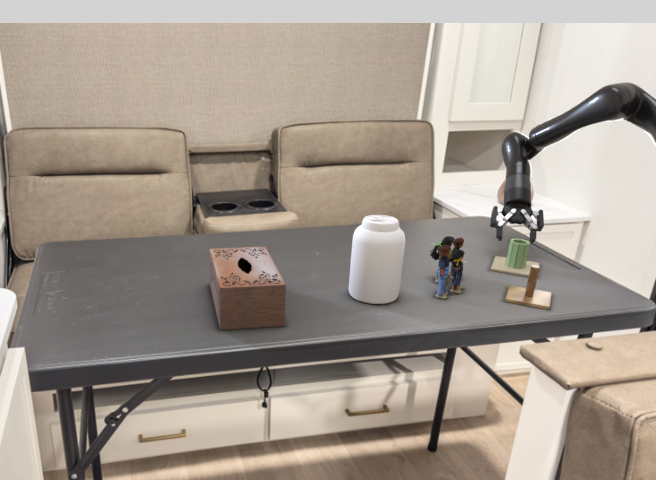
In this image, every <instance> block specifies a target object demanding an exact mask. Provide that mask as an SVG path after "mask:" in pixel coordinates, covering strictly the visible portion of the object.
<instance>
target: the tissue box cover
mask: <svg viewBox="0 0 656 480" xmlns="http://www.w3.org/2000/svg"><path fill="white" fill-rule="evenodd" d="M208 252H209V253H208V255H209V286H210V290H211V295H212V299H213V304H214V309H215V313H216V317H217V322H218V326H219V330H220V331H223V330H224V331H225V330H240V329H241V330H242V329H258V328H272V327H273V328H274V327H276V328H277V327H285V325H286V323H285V321H286V296H287V295H286V294H287V284H286V281H285V280H284V278H283V276H282V274H281V273H280V271H279V269H278V268H277V265H276V263H275V261H274V260H273V258H272V256H271V254H270V251H269V250H268V248H267V247H266V246H247V247H246V246H244V247H219V248H218V247H217V248H216V247H215V248H209V251H208Z"/></svg>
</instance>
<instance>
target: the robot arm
mask: <svg viewBox="0 0 656 480" xmlns="http://www.w3.org/2000/svg"><path fill="white" fill-rule="evenodd" d="M615 121H617V122H618V121H624V122H627V123H630V124H631V125H633V126H635V127H637V128H639V129H641V130H642V131H643V132H645V133H646V134H647V135H648V136H649V138H650V139H651V141H652V143H653V144H654V146H655V147H656V98H655V97H653V96H652V95H651V94H650V93H649V92H647V91H646V90H645V89H644V88H642V87H640V86H639V85H638V84H635V83H633V82H618V83H611V84H607V85H604V86H603V87H601V88H599V89H597V90H596V91H595V92H593V93H592V94H590V95H589V96H588V97H586V98H585V99H584V100H582V101H581V102H579V103H578V104H576V105H575V106H573V107H571V108H570V109H567V110H566V111H564V112H562V113H560V114H558V115H556V116H554V117H552V118H550V119H547V120H545V121H544V122H542V123H539V124H537V125H535V126H534V127H532V128H531V130H530V131H529V133H528V136H527V135H526V134H523V133H521V132H519V131H511V132H509V133H507V134H506V135H505V136H504V138H503V140H502V143H501V156H502V159H503V163H504V166H505V167H504V168H505V182H504V187H503V188H504V189H503V206H502V208H501V207H498V206H497V205H494V206H493V207H492V210H491V214H490V220H489V221H490V222H489V227H490V228H491V229H492V228H494V229H496V230H495V231H496V233H495V238H496V239H497V240H498V242H502V239H503V234H504V233H503V232H504V227H505V226H506V225H507V224H508V223H509V224H510V225H523V226H524V227H525V228H526V229H528V230H529V240H528V241H529V242H530V245H533V244H534V243H535V242H536V240H537V232H542V230H543V228H544V227H545V219H544V210H543V209H539V210H533V208H532V200H533V199H532V195H533V184H532V164H531V162H530V161H531V160H533V159H534V158H536V157H537V156H538V155H539V154H540V153H541V152H543V151H544V150H545V149H546V148H548V147H550V146H553V145H555V144H558V143H559V142H562V141H564V140H566V139H567V138H568V137H570V136H572V135H573V134H574V133H576V132H577V131H579V130H581V129H584V128H586V127H589V126H593V125H597V124H601V123H604V122H608V123H609V122H615ZM500 214H501V215H502V216H503V217H502V219H501V220H500V221H499V222H498V221H497V216H499V215H500ZM532 216H533V217H534V219H535V220H536V223H535V222H534V220H533V218H532Z"/></svg>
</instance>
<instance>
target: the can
mask: <svg viewBox="0 0 656 480" xmlns="http://www.w3.org/2000/svg"><path fill="white" fill-rule="evenodd" d="M405 249H406V235H405V232H404V231H403V229H401V227H400V221H399V219H397V218H396V217H394V216H392V215H387V214H370V215H366V216H364V217H363V219H362V221H361V224H360V225H359V226H357V227H356V228H355V229H354V232H353V234H352V243H351V255H350V265H349V267H350V268H349V278H348V294H349V295H350V296H351V297H352V298H353V299H354V300H357V301H359V302H362V303H367V304H373V305H374V304H375V305H383V304H389V303H392V302H394V301H396V300H397V299H398V297H399V295H400V289H401V280H402V272H403V265H404V264H403V263H404V256H405Z"/></svg>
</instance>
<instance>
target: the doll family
mask: <svg viewBox="0 0 656 480" xmlns="http://www.w3.org/2000/svg"><path fill="white" fill-rule="evenodd" d="M464 243H465V239H464V238H463V237H456V238H455V237H454V236H451V235H446V236H444V237H443V239H442V240H441V241H440V242H439V243H436V244H435V243H431V245H432V246H434V247H433V249H431V250H430V251H429V253H430V256H429V257H431V259H433V261H438V267H437V269H438V270H437V272H436V277H435V278H434V280H435V283H437V284H438V287H437V292H436V294H435V297H436V298H439V299H443V300H446V299H448V295H449V292H451V293H454V294H461V293H462V290H463V289H464V287H463V285H462V284H461V283H462V278H463V274H464V273H463V272H464V264H466V263H467V261H464V260H463V259H464V256H465V251H464V250H463V249H461V248H462V247H464ZM452 246H453V248H452ZM448 276H449V278H450V279H452V280H451V284H452V286H451V288H450V290H449V292H448V290H447V285H446V283H447V278H448Z"/></svg>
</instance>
